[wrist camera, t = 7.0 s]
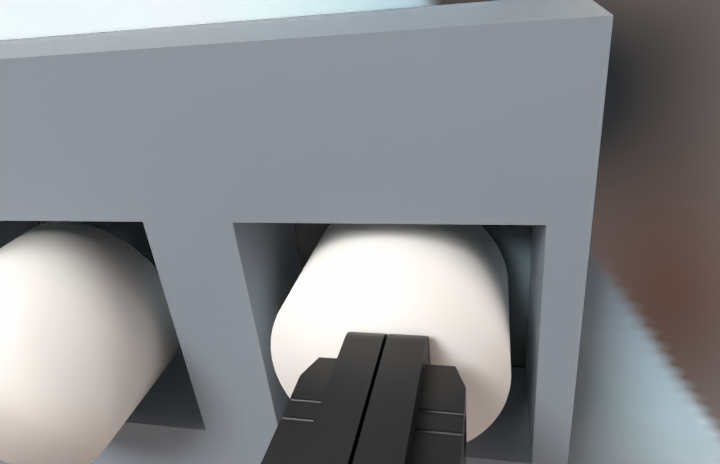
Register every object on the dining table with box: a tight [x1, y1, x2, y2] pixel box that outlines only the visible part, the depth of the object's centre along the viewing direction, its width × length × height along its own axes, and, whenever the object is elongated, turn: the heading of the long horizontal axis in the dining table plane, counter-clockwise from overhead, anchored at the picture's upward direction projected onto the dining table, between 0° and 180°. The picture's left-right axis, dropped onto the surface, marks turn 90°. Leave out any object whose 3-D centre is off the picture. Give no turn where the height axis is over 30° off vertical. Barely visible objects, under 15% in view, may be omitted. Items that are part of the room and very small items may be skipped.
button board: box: [0, 0, 613, 464], centre depth 15 cm, size 22×16×3 cm
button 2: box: [271, 223, 511, 442], centre depth 12 cm, size 5×5×3 cm
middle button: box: [0, 221, 180, 464], centre depth 12 cm, size 5×5×3 cm
